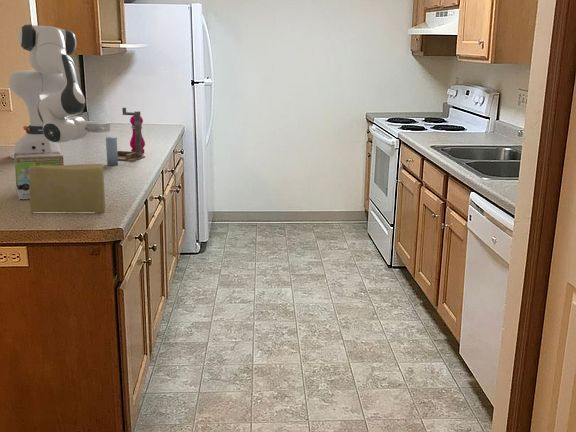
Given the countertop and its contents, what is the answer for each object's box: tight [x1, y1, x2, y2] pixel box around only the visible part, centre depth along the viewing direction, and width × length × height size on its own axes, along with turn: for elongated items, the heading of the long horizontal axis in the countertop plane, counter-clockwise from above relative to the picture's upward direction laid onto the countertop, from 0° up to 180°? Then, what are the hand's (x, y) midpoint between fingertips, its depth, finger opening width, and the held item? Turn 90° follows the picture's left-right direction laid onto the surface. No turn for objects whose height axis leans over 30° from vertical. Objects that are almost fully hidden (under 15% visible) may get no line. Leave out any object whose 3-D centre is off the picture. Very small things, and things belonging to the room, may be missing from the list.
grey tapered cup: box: [105, 136, 119, 167], centre depth 269 cm, size 5×5×12 cm
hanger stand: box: [117, 107, 146, 162], centre depth 282 cm, size 12×13×23 cm
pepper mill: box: [129, 115, 146, 155], centre depth 297 cm, size 7×7×20 cm
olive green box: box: [29, 163, 106, 214], centre depth 192 cm, size 22×10×15 cm, turn 103°
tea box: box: [13, 152, 65, 200], centre depth 212 cm, size 15×10×15 cm
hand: (95, 124), depth 254 cm, fingers open, 8 cm apart
